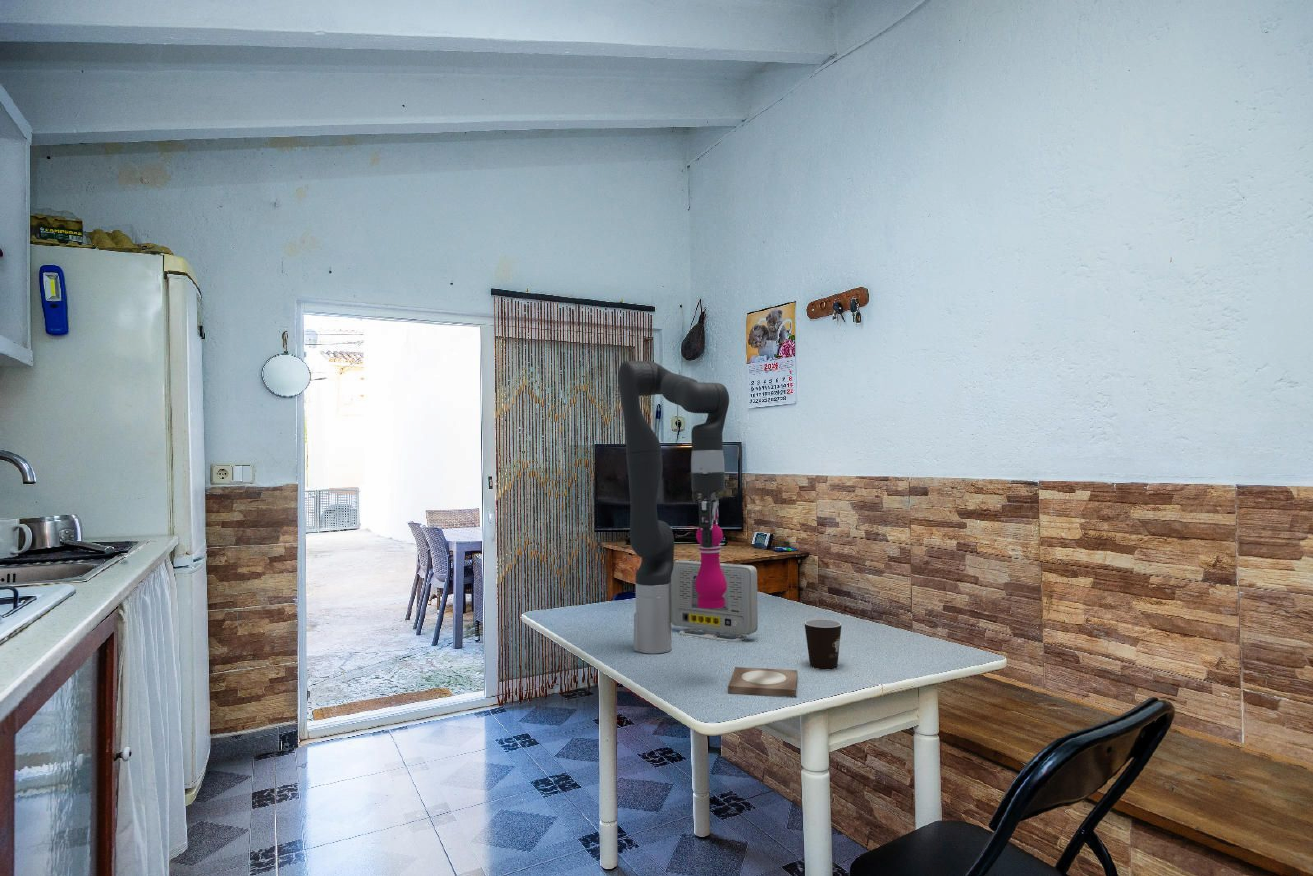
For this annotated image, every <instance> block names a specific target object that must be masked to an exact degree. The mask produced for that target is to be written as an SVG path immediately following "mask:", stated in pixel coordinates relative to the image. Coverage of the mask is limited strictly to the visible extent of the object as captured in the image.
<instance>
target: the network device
mask: <svg viewBox="0 0 1313 876" xmlns="http://www.w3.org/2000/svg"><path fill="white" fill-rule="evenodd" d="M700 565H701V561H695V560H681V559H680V560H676V561H674V566H673V571H672V574H671V625H672V626H675V627H680V628H684V629H682V630H679V635H680V636H681V635H683V636H682V637H686V636H692V637H691V638H693V637H698V638H697V639H700V638H703V640H707V639H709V641H714V640H716V641H715V642H721V641H727V642H726V643H729V642H736V643H739V642H738V641H740V642H742V640H743V641H745V640H746V639H747V638H748V636H750V635H753V634H754V633H756V632H757V631H758V628H759V622H758V620H759V618H758V617H759V616H758V615H759V613H758V612H759V611H758V607H759V606H758V570H757V568H756V567H755V566H754V565H750V564H749V565H747V564H734V563H723V562H720V567H721V569H722V572H723V574H724V576H725V579H726V582H727V590H726V592H725V593H724V594H723V596H722V597H724V598H725V607H722V608H717V609H705V608H700V607H698V606H697V598H699V597H700V596H699V594H698V593H697V592H696V590H695V581H696V577H697V575H698V572H699V569H700ZM690 630H692V631H698V630H702V631H701V632H706V631H707V632H706V633H705V634H695V633H694V634H693V633H689V632H691V631H690ZM684 632H687V633H684ZM720 634H722V635H728V634H731V635H730V636H735V635H736V637H737V638H734V639H728V638H723V637H719V636H721V635H720ZM715 636H717V637H715ZM744 639H745V640H744Z"/></svg>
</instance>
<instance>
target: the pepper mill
mask: <svg viewBox="0 0 1313 876" xmlns="http://www.w3.org/2000/svg"><path fill="white" fill-rule="evenodd" d="M704 523H708V521H704ZM695 538H696V540H697V542H698V543H699V545H698V548H699V550H698V552H699V553H700V562H701V565H700V569H699V572H698V575H697V577H696V581H695V590H696V592H697V593H698V594H699V596H700V597H699V598H697V606H698V607H700V608H705V609H717V608H722V607H725V598H724V597H722V596H723V594H724V593H725V592H726V590H727V582H726V579H725V576H724V574H723V572H722V569H721V567H720V563H721V562H720V553H721V551H722V549H721V547H722V546H721V545H720V543H721V542H722V540H723V538H724V534H723V530H722V528H721V527H720V526H719V525H716V524H713V529H712V538H713V546H712V547H711V548H704V547H703V546H702V530H701V528H700V527H699V526H698V528H697V530H696V533H695Z"/></svg>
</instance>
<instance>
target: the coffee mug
mask: <svg viewBox="0 0 1313 876" xmlns="http://www.w3.org/2000/svg"><path fill="white" fill-rule="evenodd" d="M842 625H843V624H842V623H841V622H840V621H838V620H835V619H824V618H823V619H822V618H818V619H817V618H816V619H808V620H806V621H804V631H805V639H806V644H807V645H806V646H807V652H808V654H807V655H808V661H809V666H810V667H811V666H812V667H811V668H813V667H814V669H816V668H819V669H818V670H822V669H830V670H834V668H835V669H837V668H838V666H839V665H838V664H839V654H840V643H841V634H842Z"/></svg>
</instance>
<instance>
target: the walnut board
mask: <svg viewBox="0 0 1313 876" xmlns="http://www.w3.org/2000/svg"><path fill="white" fill-rule="evenodd" d="M797 685H798V670H797V669H783V668H782V669H780V668H779V669H778V668H761V667H746V666H745V667H744V666H743V667H741V666H740V667H739V666H734V670H733V672H732V675H731V677H730V680H729V682H728V685H727V694H733V693H734V694H733V695H735V694H737V695H753V696H767V697H770V696H771V697H783V696H787V698H796V697H797V687H798V686H797ZM788 696H790V697H788ZM792 696H793V697H792Z"/></svg>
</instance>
